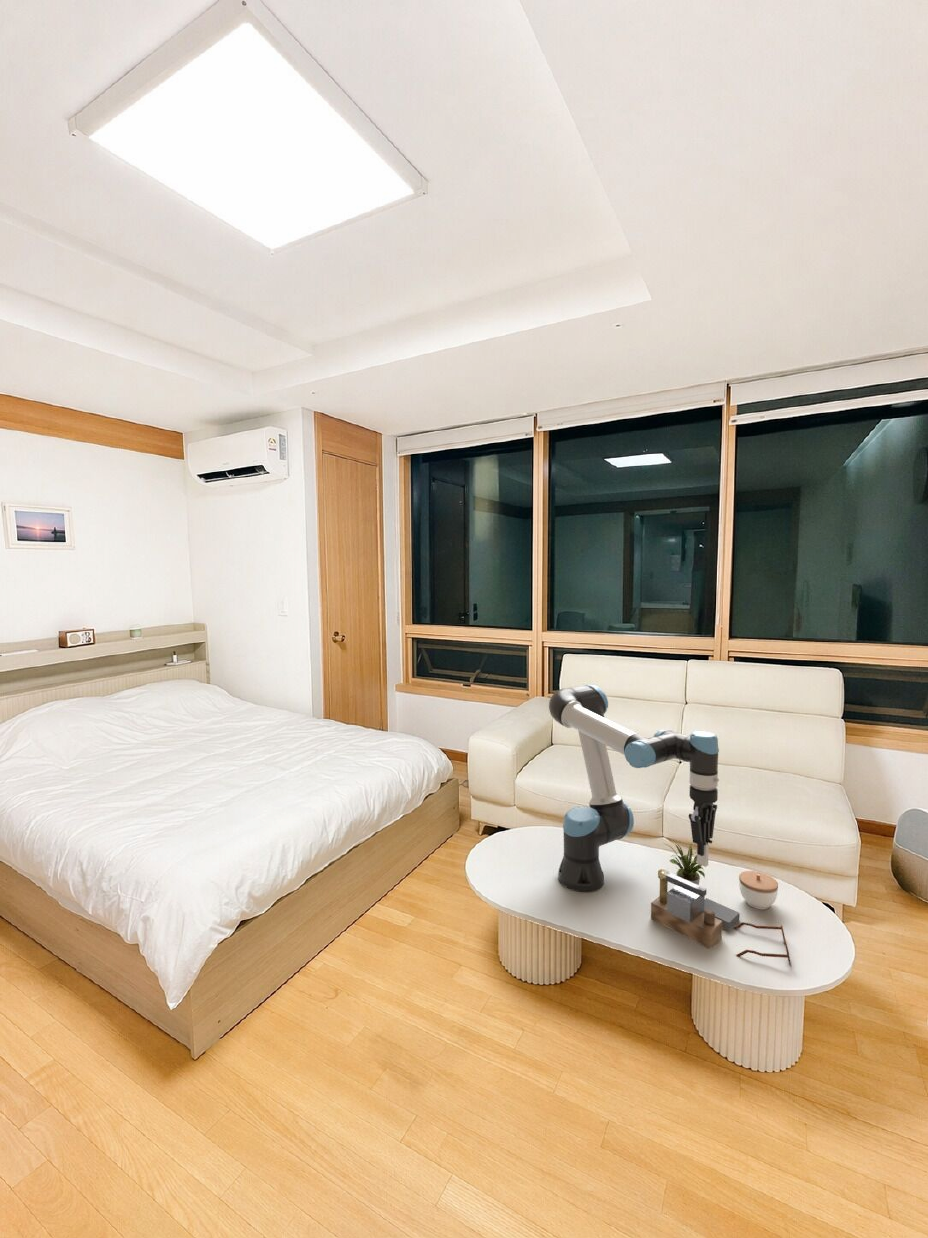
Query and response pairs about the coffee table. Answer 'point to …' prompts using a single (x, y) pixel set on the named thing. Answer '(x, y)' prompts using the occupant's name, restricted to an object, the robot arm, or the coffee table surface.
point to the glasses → (765, 953)
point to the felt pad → (723, 914)
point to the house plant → (688, 866)
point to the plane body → (699, 930)
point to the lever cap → (684, 904)
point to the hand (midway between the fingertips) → (702, 864)
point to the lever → (681, 882)
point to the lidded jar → (758, 889)
